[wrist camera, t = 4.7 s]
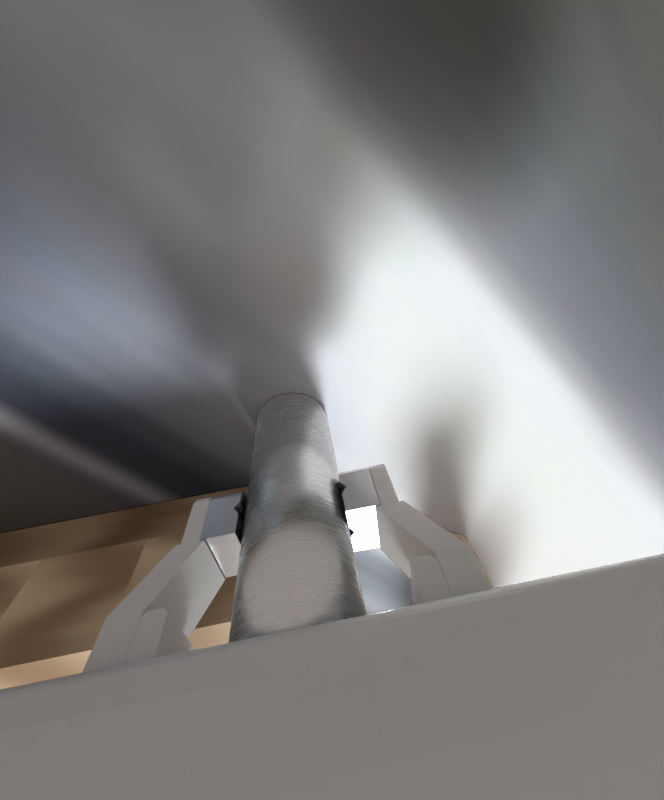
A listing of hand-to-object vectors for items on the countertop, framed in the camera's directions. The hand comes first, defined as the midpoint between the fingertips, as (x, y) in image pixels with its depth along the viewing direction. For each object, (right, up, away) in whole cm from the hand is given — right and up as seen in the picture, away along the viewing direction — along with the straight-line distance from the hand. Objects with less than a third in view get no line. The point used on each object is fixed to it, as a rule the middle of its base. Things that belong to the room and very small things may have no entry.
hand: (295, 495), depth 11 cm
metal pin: (0, +2, +4) cm, 4 cm away
